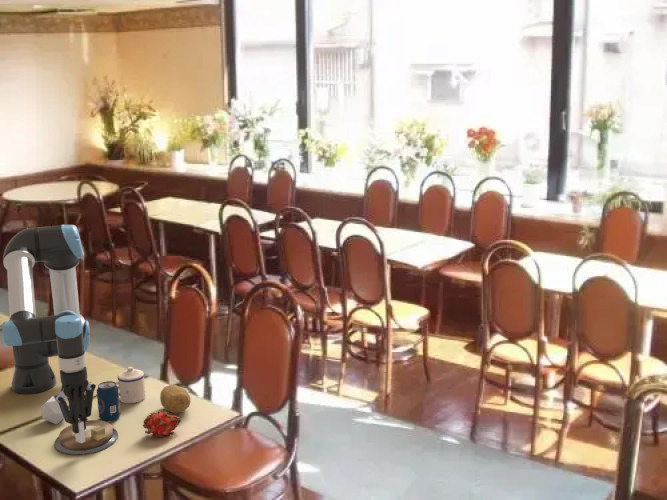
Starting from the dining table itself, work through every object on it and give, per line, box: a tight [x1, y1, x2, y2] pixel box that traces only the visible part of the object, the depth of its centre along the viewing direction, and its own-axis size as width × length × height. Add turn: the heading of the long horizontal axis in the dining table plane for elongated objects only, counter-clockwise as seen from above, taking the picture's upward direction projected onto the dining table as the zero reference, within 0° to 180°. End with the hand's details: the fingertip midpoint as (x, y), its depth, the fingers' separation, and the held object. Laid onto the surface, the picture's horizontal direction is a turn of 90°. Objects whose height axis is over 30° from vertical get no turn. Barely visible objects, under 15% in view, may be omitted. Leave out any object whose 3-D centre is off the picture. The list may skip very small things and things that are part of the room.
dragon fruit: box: [142, 410, 181, 439], centre depth 255 cm, size 8×8×12 cm
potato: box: [159, 384, 191, 414], centre depth 272 cm, size 10×14×8 cm
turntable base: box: [54, 427, 119, 456], centre depth 253 cm, size 19×19×1 cm
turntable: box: [58, 419, 113, 450], centre depth 253 cm, size 16×16×5 cm
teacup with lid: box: [114, 366, 146, 404], centre depth 281 cm, size 12×9×12 cm
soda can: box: [96, 380, 122, 423], centre depth 267 cm, size 7×7×12 cm
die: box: [40, 395, 64, 425], centre depth 266 cm, size 8×9×10 cm
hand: (80, 441), depth 244 cm, fingers closed
